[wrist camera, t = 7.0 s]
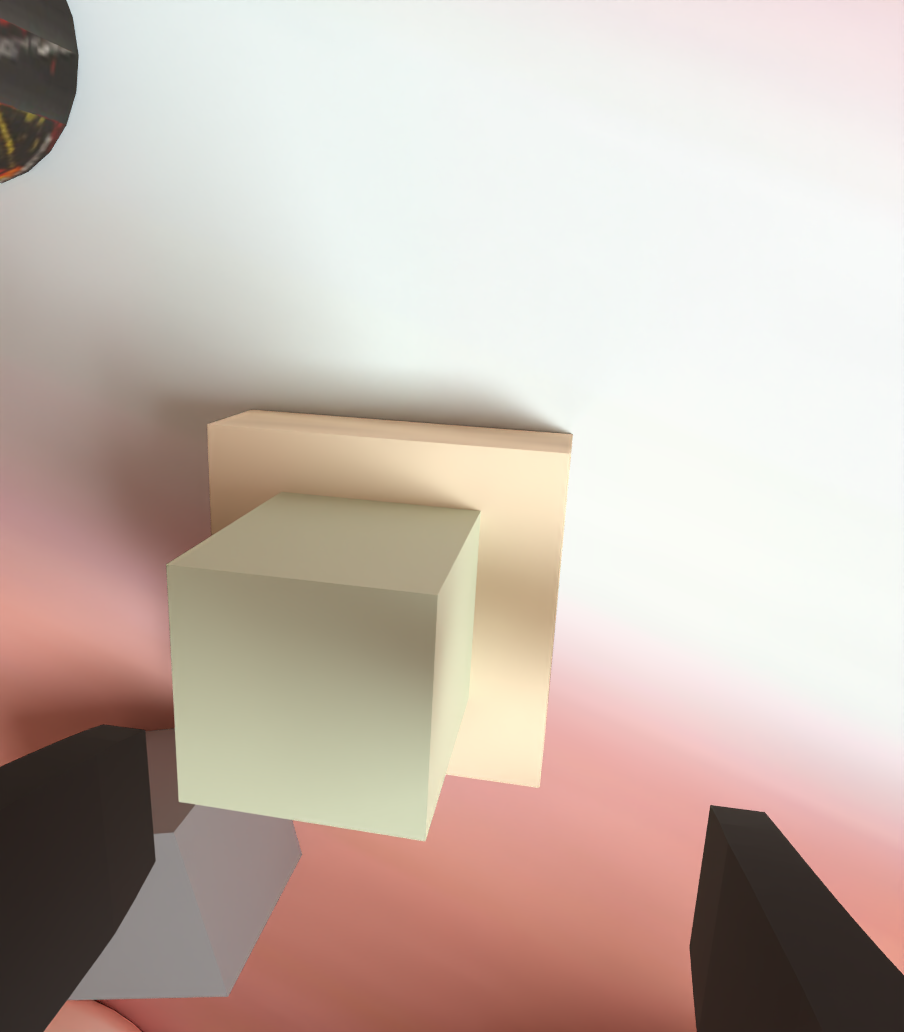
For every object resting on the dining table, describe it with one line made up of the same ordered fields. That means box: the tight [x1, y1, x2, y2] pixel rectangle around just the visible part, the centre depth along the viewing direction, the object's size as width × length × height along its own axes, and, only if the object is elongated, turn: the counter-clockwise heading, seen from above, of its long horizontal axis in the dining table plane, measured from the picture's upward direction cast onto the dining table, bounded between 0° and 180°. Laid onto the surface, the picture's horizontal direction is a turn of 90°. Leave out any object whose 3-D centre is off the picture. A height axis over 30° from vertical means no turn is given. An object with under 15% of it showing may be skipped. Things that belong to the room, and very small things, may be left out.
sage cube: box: [166, 492, 481, 841], centre depth 15 cm, size 4×4×5 cm
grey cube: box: [68, 728, 302, 1000], centre depth 21 cm, size 4×4×5 cm
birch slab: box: [207, 410, 573, 788], centre depth 19 cm, size 8×8×2 cm
